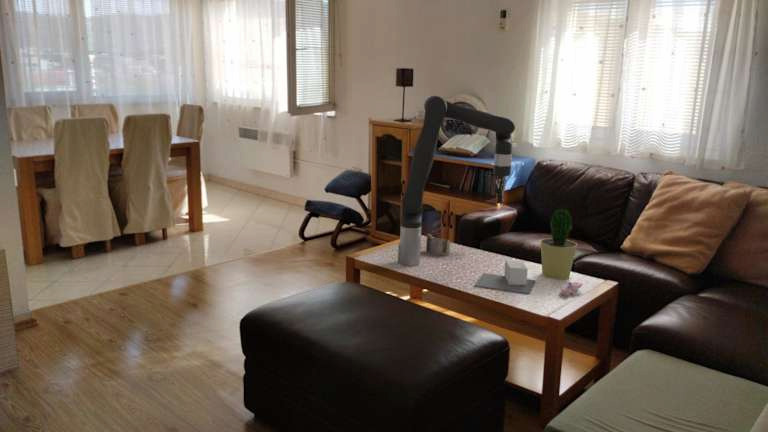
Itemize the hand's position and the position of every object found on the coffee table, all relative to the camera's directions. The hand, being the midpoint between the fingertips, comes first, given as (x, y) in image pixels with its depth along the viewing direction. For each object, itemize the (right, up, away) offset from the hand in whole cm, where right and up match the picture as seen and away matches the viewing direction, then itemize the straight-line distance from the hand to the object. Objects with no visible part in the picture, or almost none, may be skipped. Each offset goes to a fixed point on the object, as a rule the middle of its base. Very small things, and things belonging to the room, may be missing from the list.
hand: (499, 203), depth 279 cm
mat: (-1, -34, -19) cm, 39 cm away
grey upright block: (-25, -24, +24) cm, 42 cm away
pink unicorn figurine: (+23, -37, -28) cm, 52 cm away
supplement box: (+4, -28, -10) cm, 30 cm away
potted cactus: (+23, -32, -5) cm, 40 cm away
